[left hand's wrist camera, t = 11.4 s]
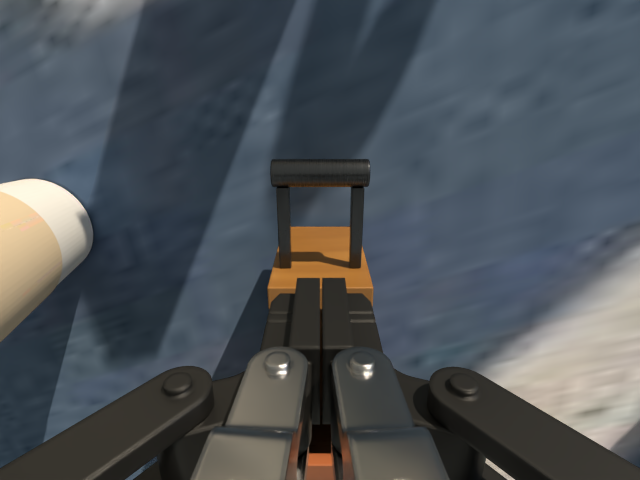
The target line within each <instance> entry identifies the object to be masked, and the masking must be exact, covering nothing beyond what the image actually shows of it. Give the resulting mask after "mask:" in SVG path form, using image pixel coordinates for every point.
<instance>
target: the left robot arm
mask: <svg viewBox="0 0 640 480" xmlns="http://www.w3.org/2000/svg"><path fill="white" fill-rule="evenodd" d="M322 412H323V424H331V459H332V468H333V476H334V480H507V479H506V478H504V477H503V476H502V475H500V474H499V473H498V472H496V471H495V470H494V469H492V468H491V467H490V466H489V465H487V464H486V463H485V461H486V458H487V459H489V460H490V461H491V462H493V463H494V464H495V465H497V466H498V467H499V468H501V469H502V470H503V471H505V472H506V473H507V474H509V475H510V476H511V477H512V478H514V479H515V480H640V468H638V467H637V466H635V465H633V464H632V463H630V462H628V461H626V460H625V459H623V458H621V457H620V456H618V455H616V454H615V453H613V452H611V451H610V450H608V449H606V448H604V447H603V446H601V445H599V444H598V443H596V442H594V441H593V440H591V439H589V438H587V437H586V436H584V435H582V434H581V433H579V432H577V431H576V430H574V429H572V428H570V427H569V426H567V425H565V424H564V423H562V422H560V421H559V420H557V419H555V418H553V417H552V416H550V415H548V414H547V413H545V412H543V411H542V410H540V409H538V408H537V407H535V406H533V405H531V404H530V403H528V402H526V401H525V400H523V399H521V398H520V397H518V396H516V395H514V394H513V393H511V392H509V391H508V390H506V389H504V388H503V387H501V386H499V385H497V384H496V383H494V382H492V381H491V380H489V379H487V378H486V377H484V376H482V375H480V374H479V373H477V372H474V371H472V370H469V369H465V368H460V367H446V368H442V369H439V370H437V371H436V372H434V373H433V374H432V376H431V378H430V381H428V380H423V379H419V378H415V377H411V376H408V375H405V374H403V373H401V372H399V371H397V370H396V369H394V368H393V365H392V363H391V361H390V359H389V358H388V357H387V356H386V355H385V354H383V351H382V346H381V342H380V338H379V334H378V330H377V325H376V323H375V317H374V314H373V308H372V304H371V302H370V301H369V300H368V299H367V298H366V297H365V296H364V295H363V294H362V293H347V289H346V281H345V278H322ZM312 424H320V278H297V282H296V290H295V293H280V294H279V295H278V296H277V297H276V298H275V299H274V300H273V301H272V302H271V305H270V309H269V314H268V318H267V323H266V327H265V331H264V336H263V340H262V344H261V349H260V352H258V353H257V354H255V355H254V356H253V357H252V358H251V359H250V361H249V363H248V365H247V368H246V371H244V372H242V373H240V374H238V375H235V376H232V377H229V378H224V379H220V380H216V381H212V378H211V376H210V374H209V373H208V372H207V371H206V370H204V369H202V368H199V367H195V366H182V367H176V368H173V369H170V370H167V371H165V372H163V373H161V374H159V375H158V376H156V377H154V378H153V379H151V380H149V381H148V382H146V383H144V384H143V385H141V386H139V387H137V388H136V389H134V390H132V391H131V392H129V393H127V394H126V395H124V396H122V397H120V398H119V399H117V400H115V401H114V402H112V403H110V404H109V405H107V406H105V407H103V408H102V409H100V410H98V411H97V412H95V413H93V414H92V415H90V416H88V417H87V418H85V419H83V420H81V421H80V422H78V423H76V424H75V425H73V426H71V427H70V428H68V429H66V430H64V431H63V432H61V433H59V434H58V435H56V436H54V437H53V438H51V439H49V440H47V441H46V442H44V443H42V444H41V445H39V446H37V447H36V448H34V449H32V450H31V451H29V452H27V453H25V454H24V455H22V456H20V457H19V458H17V459H15V460H14V461H12V462H10V463H8V464H7V465H5V466H3V467H2V468H0V480H125V479H126V478H128V477H129V476H130V475H132V474H133V473H134V472H136V471H137V470H138V469H140V468H141V467H142V466H143V465H145V464H146V463H147V462H149V461H150V460H151V459H153V458H154V457H155V456H157V462H155V463H154V464H153V465H151V466H150V467H149V468H148V469H146V470H145V471H144V472H142V473H141V474H140V475H138V476H137V477H136V478H134V479H133V480H306V476H307V468H308V459H309V445H310V442H311V437H312Z"/></svg>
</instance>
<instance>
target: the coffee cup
mask: <svg viewBox="0 0 640 480" xmlns="http://www.w3.org/2000/svg"><path fill="white" fill-rule="evenodd" d="M92 243H93V229H92V224H91V221H90V218H89V216H88V214H87V212H86V210H85V209H84V207H83V206H82V205H81V203H80V202H79V201H78V200H77V199H76V198H75V197H74V196H73V195H72V194H71V193H69V192H68V191H67V190H65V189H63V188H62V187H60V186H58V185H56V184H53V183H51V182H48V181H44V180H39V179H24V180H18V181H14V182H9V183H4V184H0V342H1V341H2V340H3V339H4V338H5V337H6V336H8V335H9V334H10V333H11V332H12V331H13V330H14V329H15V328H16V327H17V326H18V325H19V324H20V323H21V322H22V321H23V320H24V319H25V318H26V317H27V316H28V315H29V314H30V313H31V312H32V311H33V310H34V309H35V308H36V307H37V306H38V305H39V304H40V303H41V302H43V301H44V300H45V299H46V298H47V297H48V296H49V295H50V294H51V293H52V292H53V290H54V289H55V288H56V286H57V285H58V284H59V283H60V282H61V281H62V280H63V279H64V278H65V277H66V276H67V275H69V274H70V273H71V272H72V271H73V270H74V269H75V268H76V267H77V266H78V265H79V264H80V263H81V262H82V261H83V260H84V259H85V258H86V257H87V255H88V254H89V252H90V250H91V247H92Z"/></svg>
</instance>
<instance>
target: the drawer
mask: <svg viewBox="0 0 640 480" xmlns="http://www.w3.org/2000/svg"><path fill="white" fill-rule="evenodd" d="M270 173H271V184H272V186H273V187H277V188H276V193H277V217H278V241H279V245H278V249H277V253H276V257H275V261H274V265H273V268H272V272H271V276H270V280H269V284H268V287H267V292H268V308H269V309H270V305H271V302H272V301H273V300H274V299H275V298H276V297H277V296H278V295H279V294H280V293H295V290H296V282H297V278H320V424H312V437H311V442H310V445H309V453H331V424H323V412H322V278H345V281H346V289H347V293H362V294H363V295H364V296H365V297H366V298H367V299H368V300H369V301H370V302H371V304H372V305H373V285H372V281H371V277H370V273H369V270H368V266H367V262H366V258H365V255H364V251H363V247H362V232H363V208H364V187H368V186H369V182H370V162H369V160H368V159H272V161H271V168H270ZM290 187H351V205H350V227H291V217H290Z"/></svg>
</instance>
